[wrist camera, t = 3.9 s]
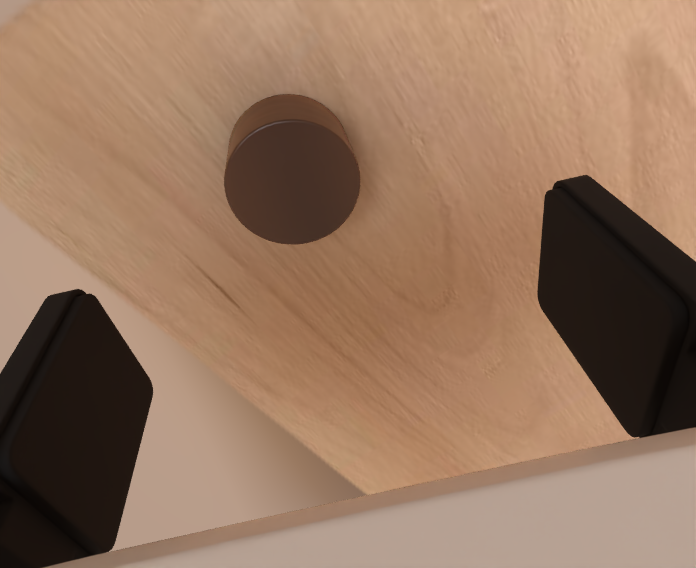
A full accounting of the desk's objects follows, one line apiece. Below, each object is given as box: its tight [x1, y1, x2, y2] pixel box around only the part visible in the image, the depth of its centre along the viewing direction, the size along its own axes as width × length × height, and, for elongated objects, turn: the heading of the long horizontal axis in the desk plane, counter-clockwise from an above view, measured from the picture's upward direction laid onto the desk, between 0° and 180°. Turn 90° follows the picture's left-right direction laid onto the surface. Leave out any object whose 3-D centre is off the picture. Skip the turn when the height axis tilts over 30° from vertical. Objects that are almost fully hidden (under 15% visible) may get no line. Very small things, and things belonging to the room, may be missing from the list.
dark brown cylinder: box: [224, 94, 360, 244], centre depth 15 cm, size 4×4×2 cm
